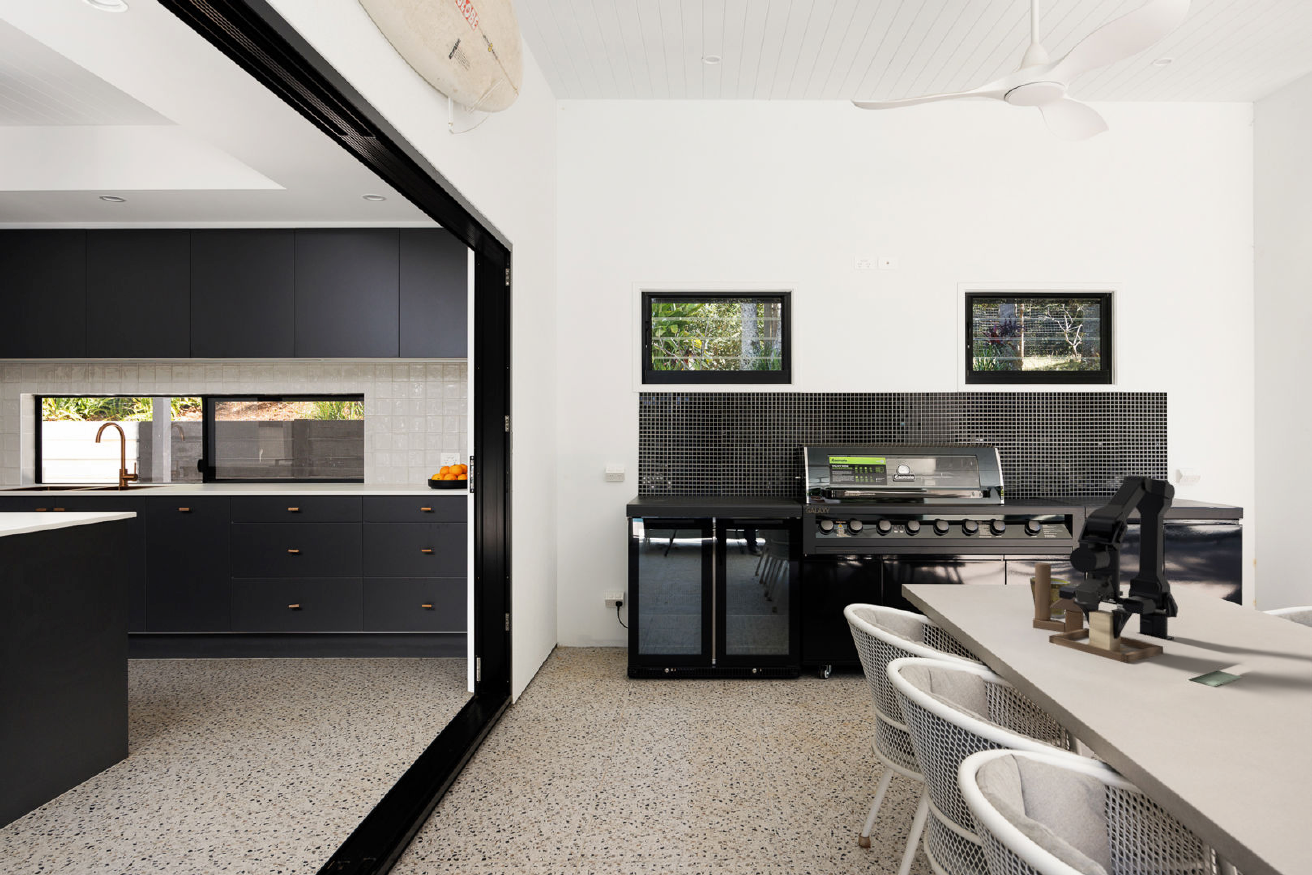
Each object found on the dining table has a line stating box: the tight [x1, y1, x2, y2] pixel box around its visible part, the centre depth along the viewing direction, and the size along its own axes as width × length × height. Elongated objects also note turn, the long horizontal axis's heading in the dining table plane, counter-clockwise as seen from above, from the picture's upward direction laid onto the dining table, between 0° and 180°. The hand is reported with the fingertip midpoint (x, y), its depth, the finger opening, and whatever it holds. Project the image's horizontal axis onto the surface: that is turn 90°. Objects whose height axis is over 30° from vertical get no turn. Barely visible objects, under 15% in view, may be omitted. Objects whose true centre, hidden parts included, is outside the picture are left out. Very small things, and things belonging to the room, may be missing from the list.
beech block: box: [1088, 609, 1122, 651], centre depth 160 cm, size 4×4×8 cm
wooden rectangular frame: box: [1048, 627, 1164, 664], centre depth 160 cm, size 15×17×3 cm
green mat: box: [1187, 670, 1241, 688], centre depth 146 cm, size 11×11×1 cm
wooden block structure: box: [1032, 561, 1085, 633], centre depth 175 cm, size 4×11×18 cm, turn 52°
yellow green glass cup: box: [1029, 576, 1071, 619], centre depth 197 cm, size 13×10×10 cm
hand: (1104, 635), depth 160 cm, fingers closed on beech block, 4 cm apart
